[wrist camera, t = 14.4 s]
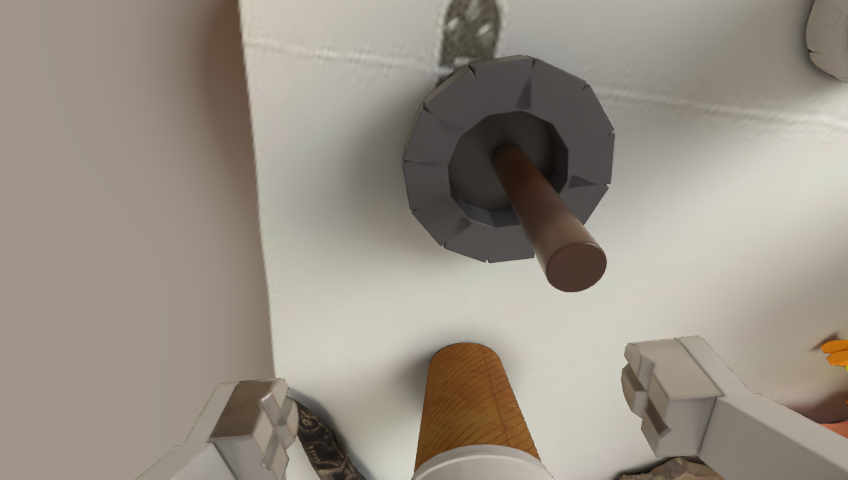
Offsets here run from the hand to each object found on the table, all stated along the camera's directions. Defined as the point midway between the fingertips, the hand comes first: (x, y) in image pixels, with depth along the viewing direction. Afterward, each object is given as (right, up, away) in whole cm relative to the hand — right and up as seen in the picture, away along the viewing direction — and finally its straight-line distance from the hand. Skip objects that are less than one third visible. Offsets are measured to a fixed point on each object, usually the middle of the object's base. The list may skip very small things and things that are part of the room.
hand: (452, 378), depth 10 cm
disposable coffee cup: (+3, -8, +25) cm, 26 cm away
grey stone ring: (+4, +8, +14) cm, 17 cm away
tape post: (+4, +9, +15) cm, 18 cm away
